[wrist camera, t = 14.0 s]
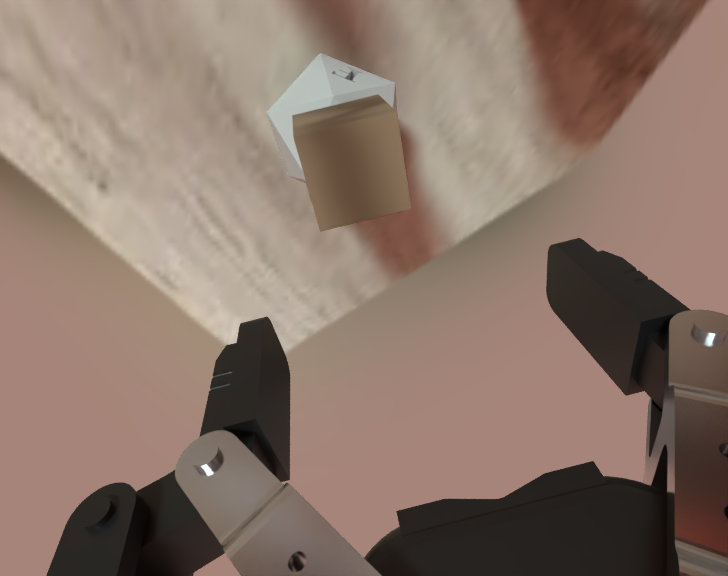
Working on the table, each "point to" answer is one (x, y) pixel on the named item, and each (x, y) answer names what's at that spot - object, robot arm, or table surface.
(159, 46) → the table surface
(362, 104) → the walnut cube
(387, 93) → the die
